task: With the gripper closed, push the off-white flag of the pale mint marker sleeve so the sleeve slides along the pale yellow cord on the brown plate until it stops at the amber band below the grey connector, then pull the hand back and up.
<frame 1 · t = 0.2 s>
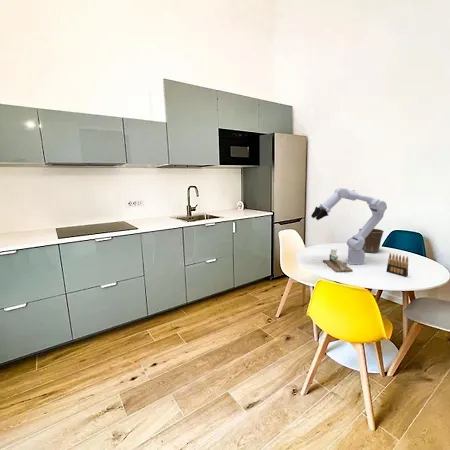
hand: (314, 218, 167), 31 cm above the table, tool tilted 45°, fingers open, 7 cm apart
brown plate: (336, 266, 166), on the table
ammunition clip: (396, 274, 152), on the table
marker sleeve: (334, 255, 169), point 6 cm above the table, slide at 0.0 cm
plant pot: (369, 251, 197), on the table
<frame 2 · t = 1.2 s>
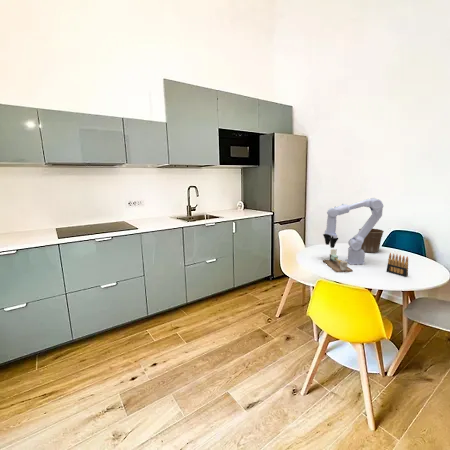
hand: (329, 246, 175), 11 cm above the table, tool pointing down, fingers open, 7 cm apart
nothing on the table moved.
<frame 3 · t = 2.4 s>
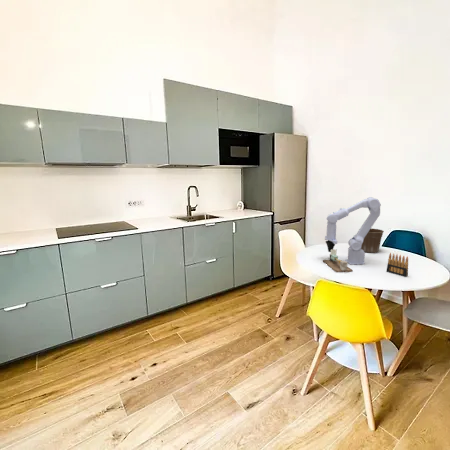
hand: (330, 251, 175), 7 cm above the table, tool pointing down, fingers closed
nothing on the table moved.
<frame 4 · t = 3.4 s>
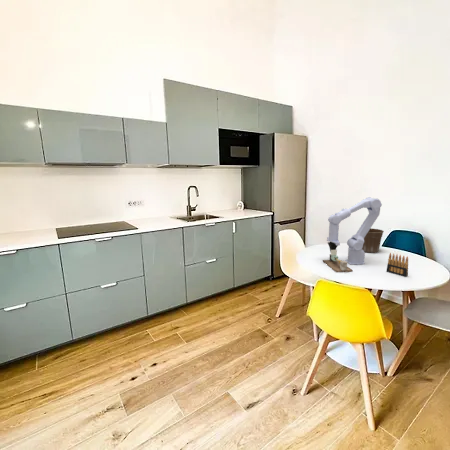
hand: (332, 253, 172), 7 cm above the table, tool pointing down, fingers closed
marker sleeve: (334, 255, 169), point 6 cm above the table, slide at 0.4 cm, touching gripper
everything else where it was.
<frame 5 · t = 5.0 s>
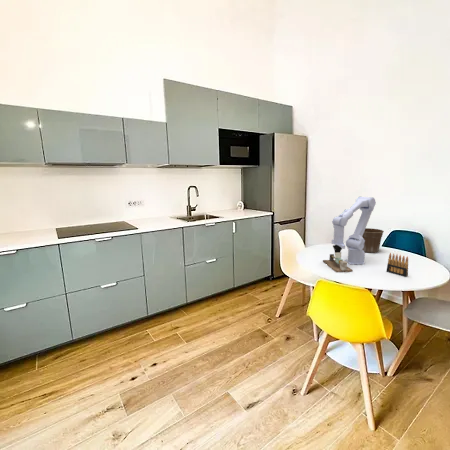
hand: (337, 256, 165), 7 cm above the table, tool pointing down, fingers closed, pressing on marker sleeve
marker sleeve: (339, 258, 163), point 6 cm above the table, slide at 6.5 cm, touching brown plate, gripper
everything else where it was.
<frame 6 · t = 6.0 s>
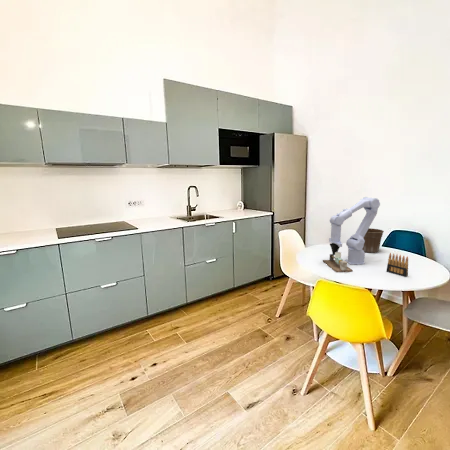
hand: (334, 254, 169), 7 cm above the table, tool pointing down, fingers closed
marker sleeve: (339, 258, 163), point 6 cm above the table, slide at 6.3 cm
everything else where it was.
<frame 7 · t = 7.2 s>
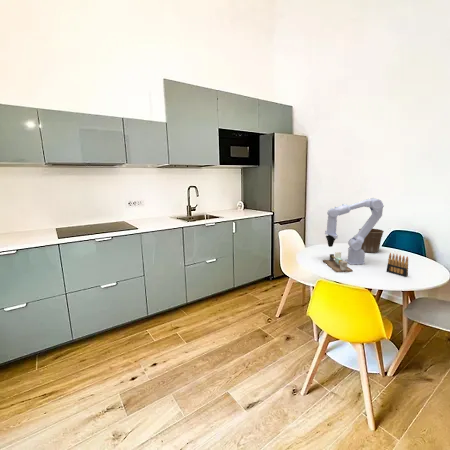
hand: (330, 246, 174), 10 cm above the table, tool pointing down, fingers closed
nothing on the table moved.
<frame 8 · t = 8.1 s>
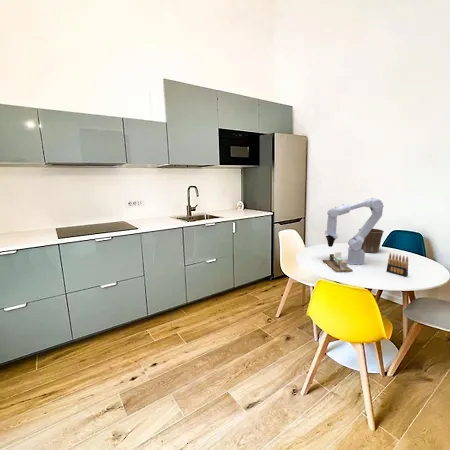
hand: (330, 246, 174), 10 cm above the table, tool pointing down, fingers closed
nothing on the table moved.
at the end: marker sleeve slide at 6.3 cm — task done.
